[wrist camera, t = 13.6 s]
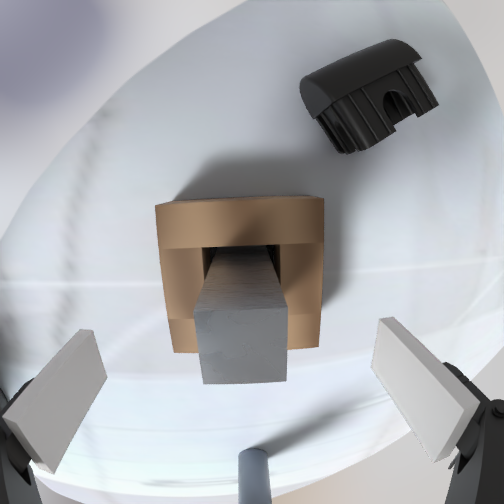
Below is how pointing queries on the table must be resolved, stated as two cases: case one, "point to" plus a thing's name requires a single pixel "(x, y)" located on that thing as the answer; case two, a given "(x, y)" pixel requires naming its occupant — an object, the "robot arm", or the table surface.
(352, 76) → the end cap
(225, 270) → the square peg
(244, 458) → the round peg
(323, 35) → the table surface
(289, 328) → the socket block
